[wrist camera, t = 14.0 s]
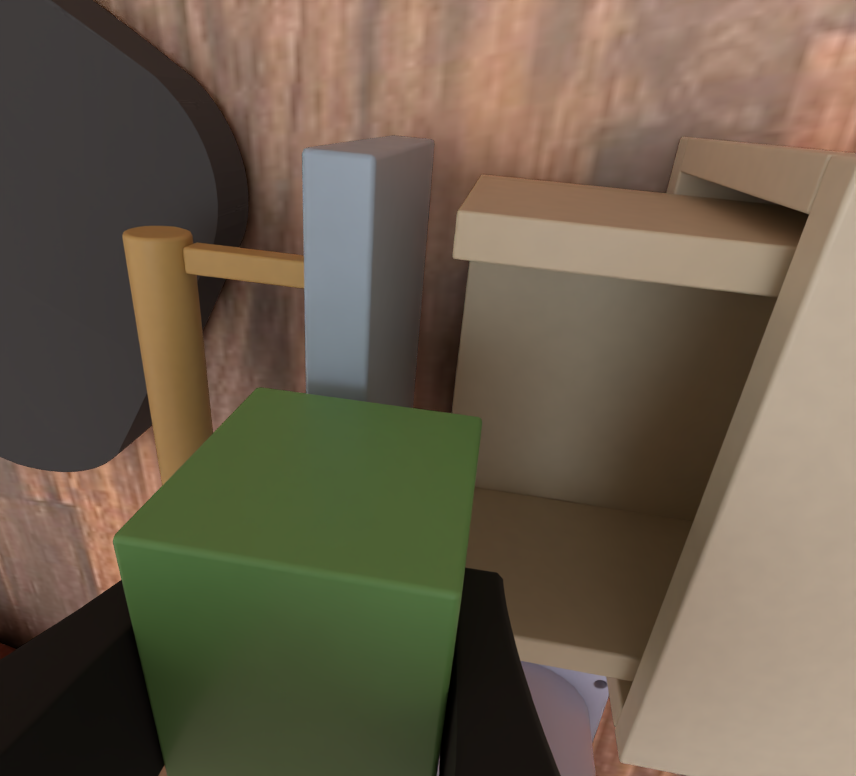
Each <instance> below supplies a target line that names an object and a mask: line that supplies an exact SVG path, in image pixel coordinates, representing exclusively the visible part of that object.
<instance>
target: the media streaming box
mask: <svg viewBox="0 0 856 776" xmlns="http://www.w3.org/2000/svg"><path fill="white" fill-rule="evenodd" d="M247 219H248V186H247V179H246V173H245V168H244V164H243V161H242V157H241V154H240V151H239V148H238V145H237V143H236V140H235V138H234V136H233V133H232V131H231V129H230V127H229V125H228V123H227V122H226V120H225V118H224V116H223V115H222V113H221V111H220V110H219V108H218V107H217V105H216V104H215V102H214V101H213V100H212V98H211V97H210V96H209V94H208V93H207V92H206V91H205V90H204V88H203V87H202V86H201V85H200V84H199V83H198V82H197V81H196V80H195V79H194V78H193V77H191V76H190V75H189V74H188V73H186V72H185V71H184V70H183V69H181V68H180V67H179V66H178V65H176V64H175V63H174V62H173V61H171V60H170V59H169V58H168V57H166V56H165V55H164V54H162V53H161V52H160V51H159V50H157V49H156V48H155V47H154V46H152V45H151V44H150V43H148V42H147V41H146V40H144V39H143V38H142V37H141V36H139V35H138V34H137V33H135V32H134V31H133V30H131V29H130V28H129V27H128V26H126V25H125V24H124V23H122V22H121V21H120V20H118V19H117V18H116V17H114V16H113V15H112V14H110V13H109V12H108V11H106V10H105V9H104V8H102V7H101V6H100V5H98V4H97V3H95V2H94V1H93V0H0V457H2V458H4V459H7V460H9V461H12V462H14V463H17V464H20V465H23V466H27V467H31V468H36V469H41V470H47V471H57V472H76V471H84V470H89V469H93V468H96V467H99V466H101V465H103V464H105V463H107V462H108V461H110V460H111V459H113V458H114V457H115V456H116V455H117V454H119V453H120V452H121V451H122V450H123V449H125V448H126V447H127V446H128V445H129V444H131V443H132V442H133V441H134V440H135V439H136V438H138V437H139V436H140V435H141V434H142V433H144V432H145V431H146V430H147V429H148V428H149V427H150V426H151V425H152V419H151V413H150V407H149V400H148V394H147V388H146V382H145V375H144V369H143V363H142V357H141V350H140V344H139V338H138V332H137V325H136V319H135V313H134V307H133V300H132V294H131V288H130V281H129V275H128V269H127V263H126V256H125V250H124V244H123V238H122V235H123V232H124V231H126V230H128V229H131V228H135V227H142V226H172V227H179V228H183V229H186V230H188V231H190V232H191V234H192V236H193V244H194V243H206V244H214V245H222V246H230V247H239V246H240V244H241V241H242V239H243V236H244V234H245V231H246V225H247ZM225 280H226V279H224V278H216V277H208V276H200V275H197V284H198V293H199V303H200V312H201V322H202V331H203V329H204V327H205V325H206V322H207V320H208V318H209V316H210V314H211V312H212V310H213V307H214V305H215V303H216V301H217V298H218V296H219V294H220V292H221V289H222V287H223V285H224V282H225Z"/></svg>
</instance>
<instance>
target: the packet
mask: <svg viewBox="0 0 856 776" xmlns="http://www.w3.org/2000/svg"><path fill="white" fill-rule="evenodd" d="M481 430H482V419H481V418H479V417H476V416H468V415H461V414H453V413H446V412H439V411H431V410H424V409H417V408H409V407H402V406H395V405H387V404H380V403H372V402H365V401H358V400H350V399H343V398H336V397H328V396H321V395H314V394H306V393H299V392H292V391H284V390H277V389H269V388H262V387H260V388H256V389H255V390H254V391H253V392H252V393H251V395H250V396H249V397H248V398H247V399H246V400H245V401H244V402H243V403H242V404H241V405H240V406H239V407H238V408H237V409H236V410H235V411H234V412H233V413H232V414H231V415H230V416H229V417H228V418H227V419H226V420H225V421H224V422H223V423H222V425H221V426H220V427H219V428H218V429H217V430H216V431H215V432H214V433H213V434H212V435H211V436H210V437H209V438H208V439H207V440H206V441H205V442H204V443H203V444H202V445H201V446H200V447H199V448H198V449H197V450H196V451H195V452H194V453H193V455H192V456H191V457H190V458H189V459H188V460H187V461H186V462H185V463H184V464H183V465H182V466H181V467H180V468H179V469H178V470H177V471H176V472H175V473H174V474H173V475H172V476H171V477H170V478H169V479H168V480H167V481H166V482H165V483H164V485H163V486H162V487H161V488H160V489H159V490H158V491H157V492H156V493H155V494H154V495H153V496H152V497H151V498H150V499H149V500H148V501H147V502H146V503H145V504H144V505H143V506H142V507H141V508H140V509H139V510H138V511H137V512H136V513H135V514H134V516H133V517H132V518H131V519H130V520H129V521H128V522H127V523H126V524H125V525H124V526H123V527H122V528H121V529H120V530H119V531H118V532H117V533H116V534H115V536H114V539H113V545H114V549H115V553H116V558H117V562H118V566H119V571H120V575H121V579H122V584H123V588H124V592H125V597H126V601H127V605H128V609H129V614H130V618H131V622H132V627H133V631H134V635H135V640H136V644H137V648H138V653H139V657H140V661H141V665H142V670H143V674H144V678H145V683H146V687H147V691H148V696H149V700H150V704H151V709H152V713H153V717H154V721H155V726H156V730H157V734H158V739H159V743H160V747H161V752H162V756H163V760H164V765H165V769H166V773H167V776H437V771H438V764H439V756H440V749H441V742H442V735H443V728H444V720H445V713H446V706H447V699H448V692H449V684H450V677H451V670H452V663H453V656H454V648H455V641H456V634H457V627H458V620H459V612H460V605H461V598H462V590H463V582H464V573H465V565H466V556H467V548H468V539H469V531H470V523H471V514H472V506H473V497H474V489H475V481H476V472H477V464H478V455H479V447H480V438H481Z"/></svg>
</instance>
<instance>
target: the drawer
mask: <svg viewBox="0 0 856 776" xmlns="http://www.w3.org/2000/svg"><path fill="white" fill-rule="evenodd" d="M433 156H434V140H432V139H426V138H416V137H405V136H395V135H392V136H385V137H378V138H371V139H364V140H356V141H349V142H342V143H335V144H328V145H321V146H314V147H308V148H305V149H304V150H303V152H302V179H303V240H304V255H297V254H288V253H280V252H272V251H264V250H255V249H247V248H239V247H230V246H222V245H214V244H206V243H194V244H193V236H192V234H191V232H190V231H188V230H186V229H183V228H179V227H172V226H142V227H135V228H131V229H128V230H126V231H124V232H123V235H122V238H123V244H124V250H125V256H126V263H127V269H128V275H129V281H130V288H131V294H132V300H133V307H134V313H135V319H136V325H137V332H138V338H139V344H140V350H141V357H142V363H143V369H144V375H145V382H146V388H147V394H148V400H149V407H150V413H151V419H152V425H153V432H154V438H155V444H156V451H157V457H158V463H159V469H160V476H161V482H162V486H163V485H164V483H165V482H166V481H167V480H168V479H169V478H170V477H171V476H172V475H173V474H174V473H175V472H176V471H177V470H178V469H179V468H180V467H181V466H182V465H183V464H184V463H185V462H186V461H187V460H188V459H189V458H190V457H191V456H192V455H193V453H194V452H195V451H196V450H197V449H198V448H199V447H200V446H201V445H202V444H203V443H204V442H205V441H206V440H207V439H208V438H209V437H210V436H211V435H212V434H213V428H212V418H211V409H210V399H209V389H208V380H207V370H206V361H205V351H204V341H203V332H202V322H201V312H200V303H199V293H198V284H197V275H200V276H208V277H216V278H224V279H232V280H240V281H248V282H255V283H263V284H271V285H279V286H287V287H295V288H303V289H304V301H305V362H306V394H314V395H321V396H328V397H336V398H343V399H350V400H358V401H365V402H372V403H380V404H387V405H395V406H402V407H409V408H413V402H414V390H415V377H416V365H417V353H418V341H419V328H420V316H421V304H422V291H423V279H424V267H425V254H426V242H427V230H428V218H429V205H430V193H431V181H432V168H433ZM808 216H809V214H806V213H803V212H800V211H797V210H794V209H791V208H788V207H785V206H782V205H774V204H765V203H755V202H745V201H736V200H726V199H716V198H707V197H697V196H687V195H678V194H668V193H658V192H649V191H639V190H629V189H620V188H610V187H600V186H591V185H581V184H571V183H562V182H552V181H542V180H533V179H523V178H513V177H504V176H494V175H484V174H482V175H481V176H480V178H479V179H478V181H477V182H476V184H475V185H474V187H473V188H472V190H471V191H470V193H469V194H468V196H467V198H466V199H465V201H464V202H463V204H462V205H461V207H460V208H459V210H458V212H457V216H456V226H455V236H454V245H453V255H452V256H453V258H454V259H457V260H465V261H469V267H468V275H467V284H466V293H465V301H464V310H463V318H462V327H461V335H460V344H459V352H458V361H457V369H456V378H455V387H454V395H453V404H452V412H451V413H453V414H461V415H468V416H476V417H479V418H481V419H482V430H481V438H480V447H479V455H478V464H477V472H476V481H475V489H474V497H473V506H472V514H471V523H470V531H469V539H468V548H467V556H466V565H465V567H466V568H472V569H478V570H484V571H490V572H497V573H498V574H499V575H500V576H501V577H502V578H503V584H504V592H505V598H506V604H507V609H508V614H509V619H510V623H511V627H512V631H513V635H514V639H515V643H516V647H517V650H518V654H519V657H520V661H524V662H530V663H535V664H541V665H546V666H551V667H557V668H562V669H568V670H573V671H579V672H584V673H589V674H595V675H600V676H606V677H611V678H617V679H622V680H627V681H633V680H634V678H635V675H636V672H637V670H638V667H639V664H640V662H641V659H642V656H643V654H644V651H645V648H646V646H647V643H648V641H649V638H650V635H651V633H652V630H653V627H654V625H655V622H656V619H657V617H658V614H659V611H660V609H661V606H662V603H663V601H664V598H665V595H666V593H667V590H668V587H669V585H670V582H671V580H672V577H673V574H674V572H675V569H676V566H677V564H678V561H679V558H680V556H681V553H682V550H683V548H684V545H685V542H686V540H687V537H688V534H689V532H690V529H691V526H692V524H693V521H694V519H695V516H696V513H697V511H698V508H699V505H700V503H701V500H702V497H703V495H704V492H705V489H706V487H707V484H708V481H709V479H710V476H711V473H712V471H713V468H714V465H715V463H716V460H717V458H718V455H719V452H720V450H721V447H722V444H723V442H724V439H725V436H726V434H727V431H728V428H729V426H730V423H731V420H732V418H733V415H734V412H735V410H736V407H737V404H738V402H739V399H740V397H741V394H742V391H743V389H744V386H745V383H746V381H747V378H748V375H749V373H750V370H751V367H752V365H753V362H754V359H755V357H756V354H757V351H758V349H759V346H760V344H761V341H762V338H763V336H764V333H765V330H766V328H767V325H768V322H769V320H770V317H771V314H772V312H773V309H774V306H775V304H776V301H777V298H778V296H779V293H780V290H781V288H782V285H783V283H784V280H785V277H786V275H787V272H788V269H789V267H790V264H791V261H792V259H793V256H794V253H795V251H796V248H797V245H798V243H799V240H800V237H801V235H802V232H803V229H804V227H805V224H806V222H807V219H808Z"/></svg>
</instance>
